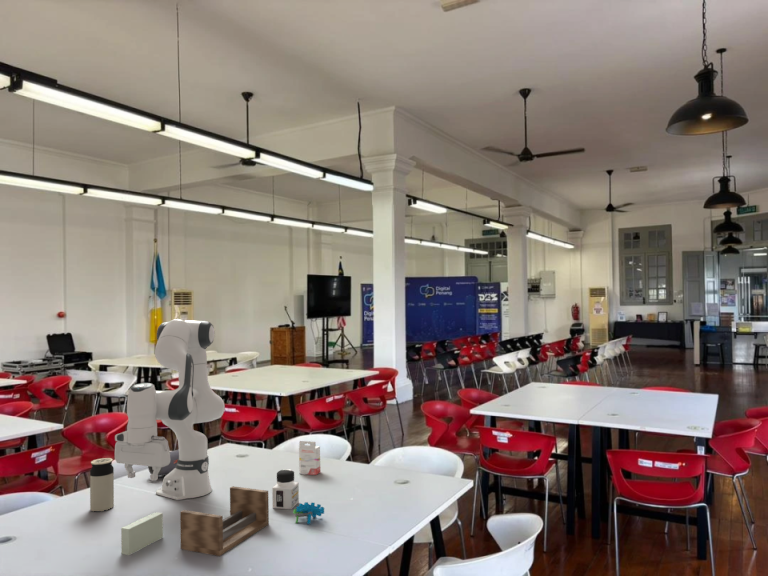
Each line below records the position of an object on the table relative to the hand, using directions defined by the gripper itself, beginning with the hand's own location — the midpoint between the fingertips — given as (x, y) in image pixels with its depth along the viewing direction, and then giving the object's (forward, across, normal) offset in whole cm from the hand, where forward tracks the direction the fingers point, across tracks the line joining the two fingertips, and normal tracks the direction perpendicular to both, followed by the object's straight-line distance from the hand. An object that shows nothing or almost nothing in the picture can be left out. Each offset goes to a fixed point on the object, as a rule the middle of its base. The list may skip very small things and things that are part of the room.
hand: (142, 478), depth 178 cm
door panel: (+21, 0, 0) cm, 21 cm away
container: (+21, -24, -46) cm, 56 cm away
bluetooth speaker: (+20, +48, -66) cm, 84 cm away
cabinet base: (+21, -21, -15) cm, 33 cm away
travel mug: (+21, +41, -20) cm, 51 cm away
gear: (+22, -40, -36) cm, 58 cm away
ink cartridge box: (+21, -12, -85) cm, 88 cm away
